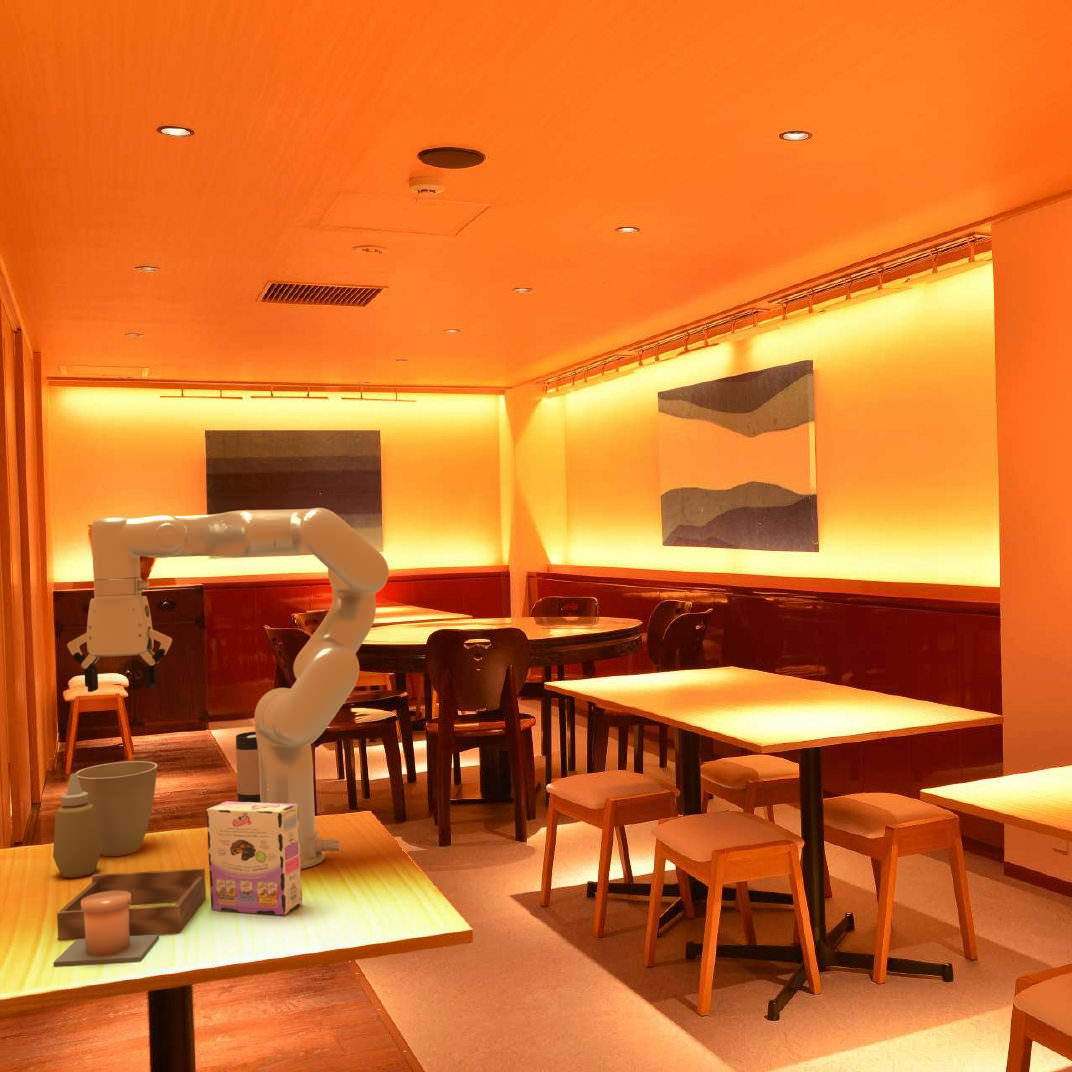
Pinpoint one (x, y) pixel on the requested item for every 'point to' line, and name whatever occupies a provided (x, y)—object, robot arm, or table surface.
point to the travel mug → (247, 768)
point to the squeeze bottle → (76, 833)
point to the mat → (132, 954)
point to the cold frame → (142, 901)
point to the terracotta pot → (106, 922)
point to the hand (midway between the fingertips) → (121, 689)
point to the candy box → (254, 857)
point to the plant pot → (120, 803)
